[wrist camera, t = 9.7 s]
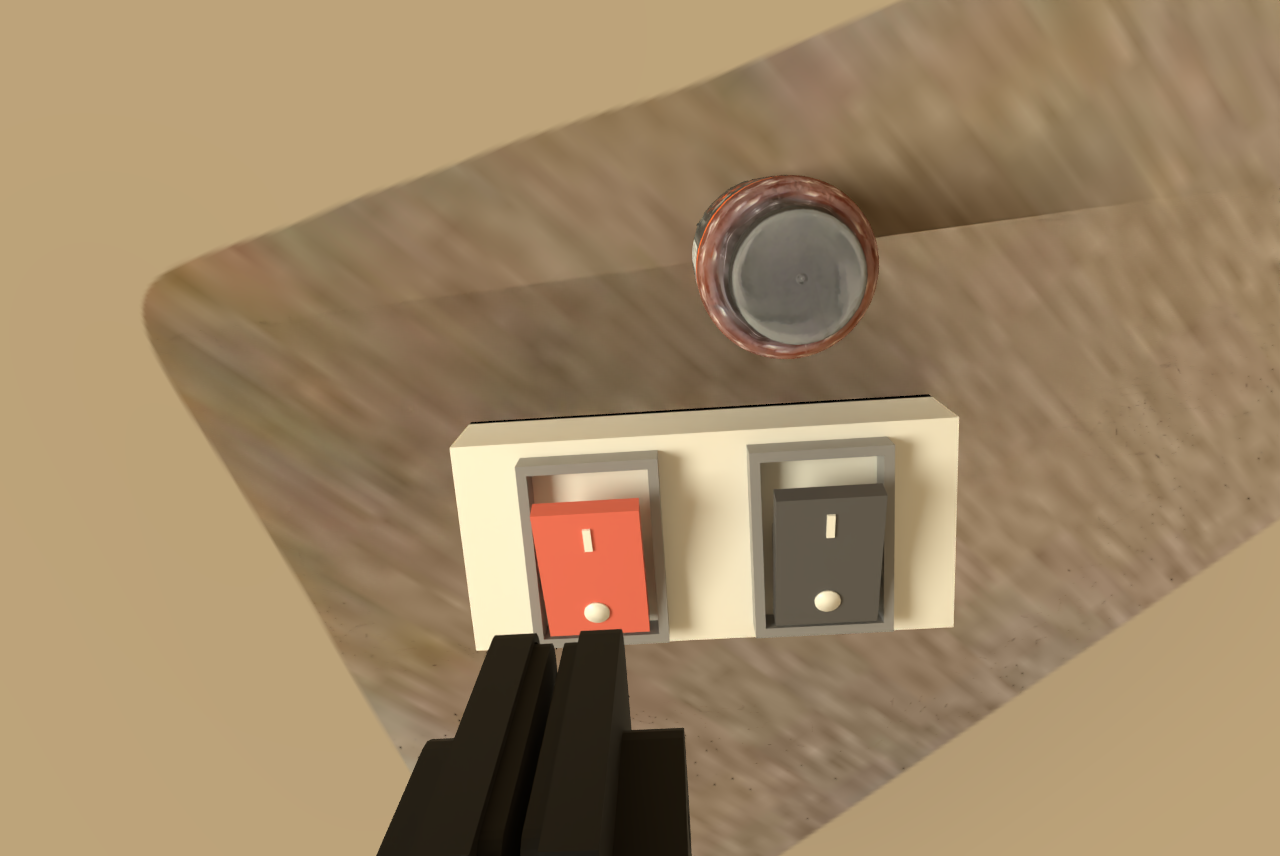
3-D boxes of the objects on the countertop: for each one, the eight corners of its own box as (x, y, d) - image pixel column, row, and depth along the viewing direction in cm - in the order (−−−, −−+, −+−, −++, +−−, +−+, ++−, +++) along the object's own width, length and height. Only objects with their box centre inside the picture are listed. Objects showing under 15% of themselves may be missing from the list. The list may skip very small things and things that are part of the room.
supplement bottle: (803, 153, 35) (866, 135, 24) (854, 289, 36) (935, 330, 26) (667, 214, 36) (668, 223, 25) (722, 345, 37) (746, 408, 26)
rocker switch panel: (928, 394, 38) (969, 425, 33) (925, 585, 40) (962, 641, 35) (471, 422, 38) (442, 456, 33) (494, 607, 41) (470, 665, 36)
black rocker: (874, 463, 33) (888, 497, 31) (865, 585, 36) (877, 622, 34) (769, 470, 33) (776, 503, 31) (769, 590, 36) (775, 627, 34)
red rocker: (639, 478, 33) (638, 512, 32) (649, 595, 37) (650, 633, 35) (536, 484, 34) (529, 518, 32) (555, 600, 37) (550, 638, 35)
